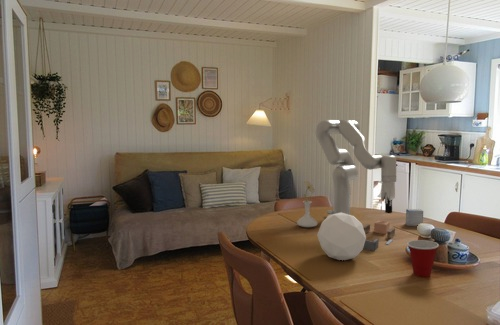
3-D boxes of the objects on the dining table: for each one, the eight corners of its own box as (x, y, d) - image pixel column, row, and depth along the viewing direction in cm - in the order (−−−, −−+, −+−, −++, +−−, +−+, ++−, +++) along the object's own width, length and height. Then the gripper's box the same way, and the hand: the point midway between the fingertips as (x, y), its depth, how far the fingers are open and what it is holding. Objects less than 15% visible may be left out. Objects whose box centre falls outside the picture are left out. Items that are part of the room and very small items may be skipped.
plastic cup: (410, 266, 147) (411, 236, 146) (440, 273, 140) (442, 242, 139) (401, 275, 139) (402, 243, 137) (433, 282, 132) (434, 249, 130)
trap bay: (347, 246, 171) (348, 237, 171) (352, 242, 176) (352, 234, 175) (374, 251, 164) (374, 242, 164) (378, 247, 169) (378, 238, 169)
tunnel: (361, 234, 189) (362, 227, 189) (367, 230, 196) (367, 223, 196) (390, 238, 181) (390, 231, 181) (394, 234, 188) (394, 228, 187)
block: (374, 232, 193) (374, 223, 192) (377, 229, 198) (377, 220, 197) (386, 234, 189) (386, 224, 189) (389, 231, 194) (389, 222, 194)
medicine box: (420, 224, 208) (420, 208, 207) (423, 226, 203) (423, 210, 202) (405, 223, 208) (406, 208, 207) (408, 226, 204) (408, 210, 203)
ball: (327, 272, 158) (303, 231, 164) (364, 250, 164) (339, 211, 170) (343, 266, 141) (315, 219, 147) (383, 242, 147) (355, 198, 153)
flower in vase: (319, 229, 198) (319, 182, 196) (297, 229, 199) (298, 182, 196) (315, 222, 211) (316, 179, 209) (295, 222, 212) (295, 179, 209)
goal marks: (352, 238, 183) (352, 237, 183) (357, 234, 189) (357, 233, 189) (388, 244, 173) (388, 244, 173) (392, 240, 179) (392, 239, 179)
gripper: (385, 176, 206) (385, 209, 208) (377, 180, 194) (377, 214, 195) (399, 177, 202) (399, 210, 203) (392, 180, 190) (392, 216, 191)
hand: (388, 212), depth 199 cm, fingers closed
